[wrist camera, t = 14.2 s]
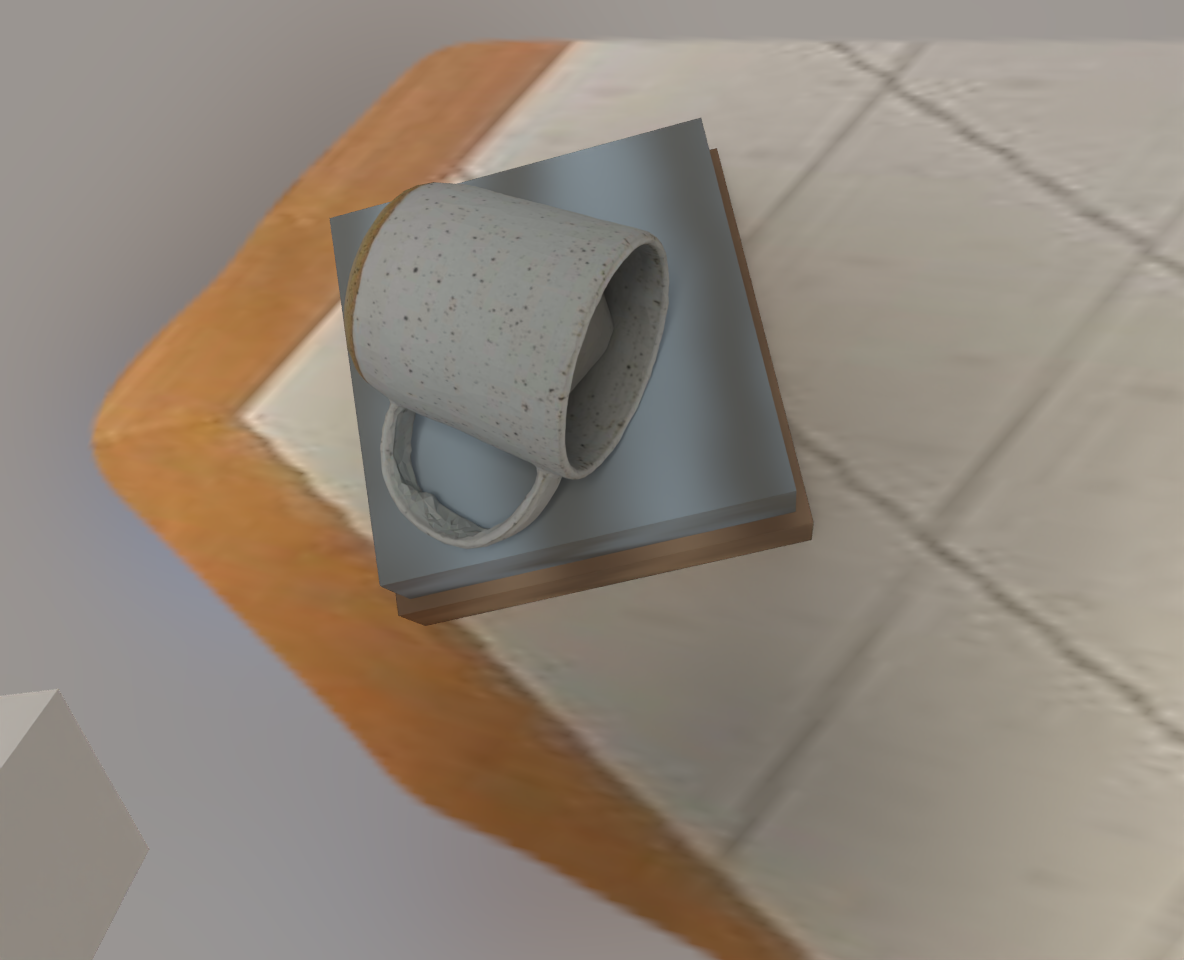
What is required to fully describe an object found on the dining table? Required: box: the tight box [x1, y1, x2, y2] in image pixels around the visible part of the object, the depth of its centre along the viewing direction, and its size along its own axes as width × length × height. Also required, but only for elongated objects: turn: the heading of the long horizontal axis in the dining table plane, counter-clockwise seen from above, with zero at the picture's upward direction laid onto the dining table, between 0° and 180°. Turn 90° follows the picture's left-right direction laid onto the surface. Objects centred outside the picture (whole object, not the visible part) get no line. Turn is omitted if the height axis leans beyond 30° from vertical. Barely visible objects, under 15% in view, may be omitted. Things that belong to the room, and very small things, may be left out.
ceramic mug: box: [344, 182, 669, 549], centre depth 33 cm, size 11×8×8 cm
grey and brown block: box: [330, 118, 814, 626], centre depth 40 cm, size 15×15×6 cm
